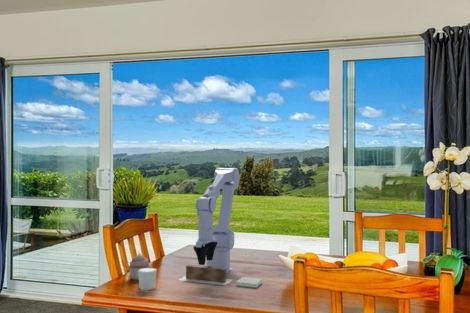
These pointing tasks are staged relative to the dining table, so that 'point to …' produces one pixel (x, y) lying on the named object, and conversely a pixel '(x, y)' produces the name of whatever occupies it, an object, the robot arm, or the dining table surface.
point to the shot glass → (147, 278)
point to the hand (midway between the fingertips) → (205, 262)
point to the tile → (249, 282)
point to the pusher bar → (206, 273)
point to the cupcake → (138, 265)
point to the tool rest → (206, 281)
